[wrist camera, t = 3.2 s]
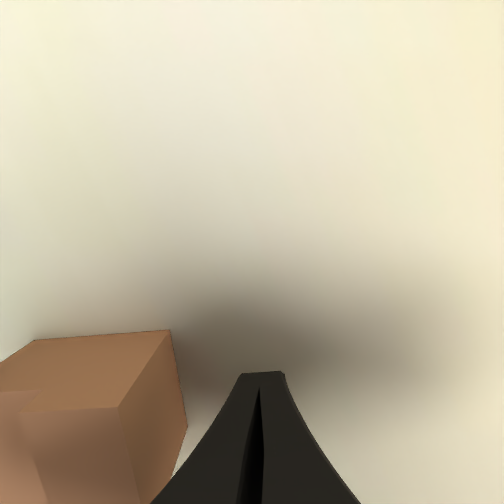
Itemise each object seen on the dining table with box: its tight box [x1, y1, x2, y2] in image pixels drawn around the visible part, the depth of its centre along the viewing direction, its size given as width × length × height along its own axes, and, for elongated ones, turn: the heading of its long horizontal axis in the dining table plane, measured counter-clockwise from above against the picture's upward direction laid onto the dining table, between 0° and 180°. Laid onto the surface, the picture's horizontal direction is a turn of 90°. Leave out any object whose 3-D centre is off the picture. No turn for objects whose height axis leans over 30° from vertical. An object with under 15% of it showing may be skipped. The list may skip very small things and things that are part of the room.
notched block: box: [0, 330, 188, 504], centre depth 9 cm, size 5×4×4 cm
